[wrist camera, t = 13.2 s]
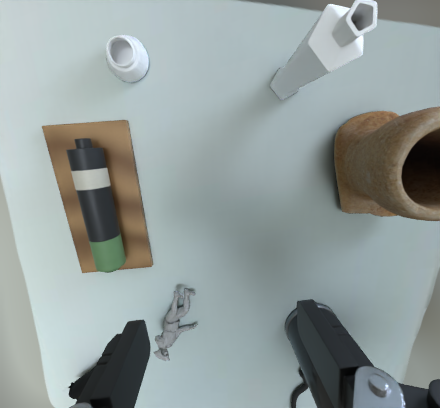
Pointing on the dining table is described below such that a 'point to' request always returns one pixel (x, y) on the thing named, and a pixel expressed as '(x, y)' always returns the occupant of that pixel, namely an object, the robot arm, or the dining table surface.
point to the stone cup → (390, 164)
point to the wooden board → (120, 185)
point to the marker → (97, 205)
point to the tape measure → (79, 385)
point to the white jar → (127, 58)
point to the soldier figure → (173, 324)
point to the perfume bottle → (327, 46)
